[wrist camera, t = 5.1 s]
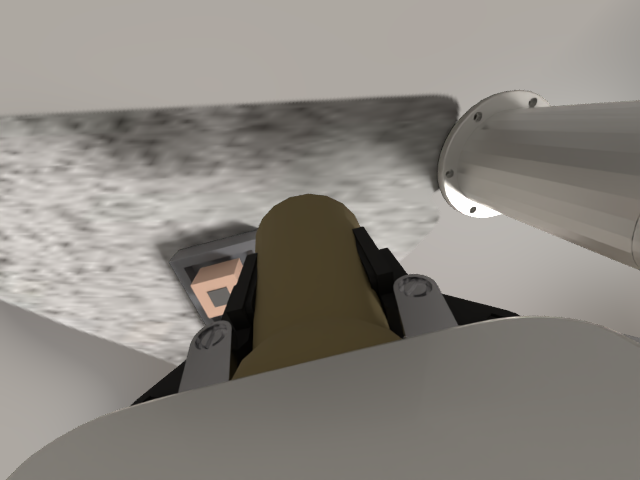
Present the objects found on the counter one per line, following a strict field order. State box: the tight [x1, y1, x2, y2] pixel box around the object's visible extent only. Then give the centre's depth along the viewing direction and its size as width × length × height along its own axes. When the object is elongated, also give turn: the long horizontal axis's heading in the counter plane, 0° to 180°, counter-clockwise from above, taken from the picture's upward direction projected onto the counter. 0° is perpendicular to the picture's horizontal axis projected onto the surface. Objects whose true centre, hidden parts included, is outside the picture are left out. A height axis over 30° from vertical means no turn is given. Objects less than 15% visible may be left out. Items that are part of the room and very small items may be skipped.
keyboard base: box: [169, 230, 257, 326], centre depth 30 cm, size 9×19×2 cm, turn 13°
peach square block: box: [190, 258, 243, 318], centre depth 24 cm, size 4×4×3 cm
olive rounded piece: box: [232, 194, 401, 380], centre depth 9 cm, size 6×6×11 cm
